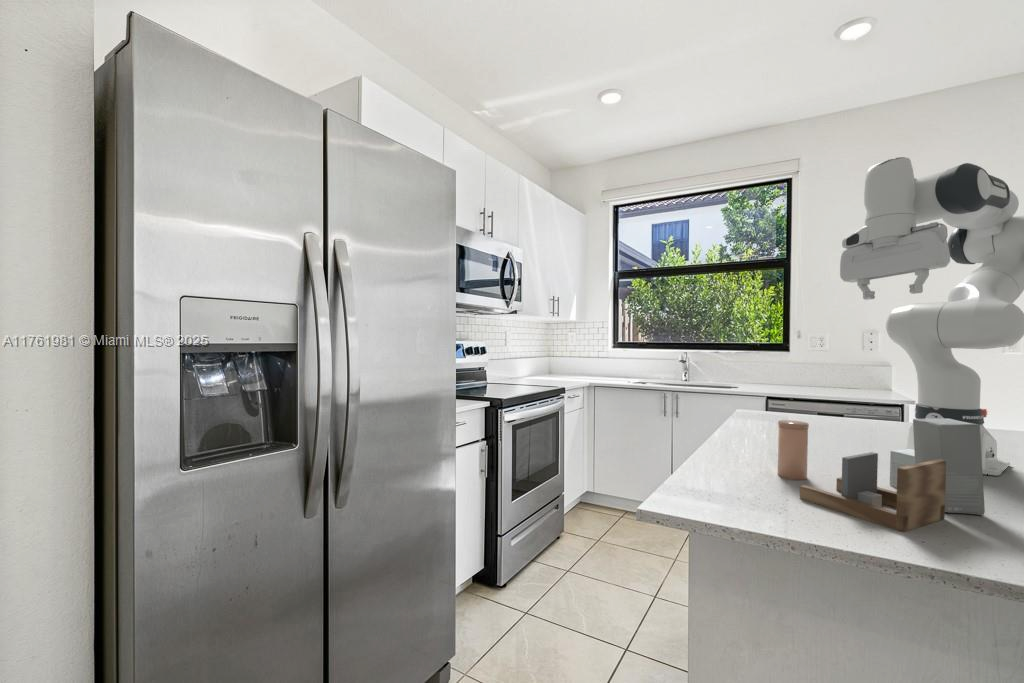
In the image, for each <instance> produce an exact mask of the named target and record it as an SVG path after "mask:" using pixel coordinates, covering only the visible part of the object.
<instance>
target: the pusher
mask: <svg viewBox="0 0 1024 683" xmlns="http://www.w3.org/2000/svg"><path fill="white" fill-rule="evenodd" d="M878 456H879V453H877V452H873V451H871V452H866V453H865V452H864V453H860V454H854V455H849V456H843V457H842V458H841V462H842V463H841V466H842V467H841V478H842V492H841V496H844V497H847V498H851V499H854V500H857V501H861V502H864V503H868V504H871V505H874V506H878V507H881V508H883V507H882V505H883V503H882V495H880V494H877V487H878V470H879V468H878V467H879V466H878V465H879V463H878V462H879V459H878V458H879V457H878Z"/></svg>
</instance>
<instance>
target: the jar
mask: <svg viewBox="0 0 1024 683" xmlns="http://www.w3.org/2000/svg"><path fill="white" fill-rule="evenodd" d="M777 425H778V433H777V434H778V435H777V436H778V440H777V444H778V445H777V476H779V478H780V477H781V478H783V479H788V480H794V481H805V480H807V479H808V453H809V452H808V449H809V448H808V446H809V444H808V443H809V427H810V426H809V423H808V422H806V421H805V422H804V421H800V420H799V421H798V420H793V419H791V420H789V419H786V420H785V419H782V420H778V421H777Z"/></svg>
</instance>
